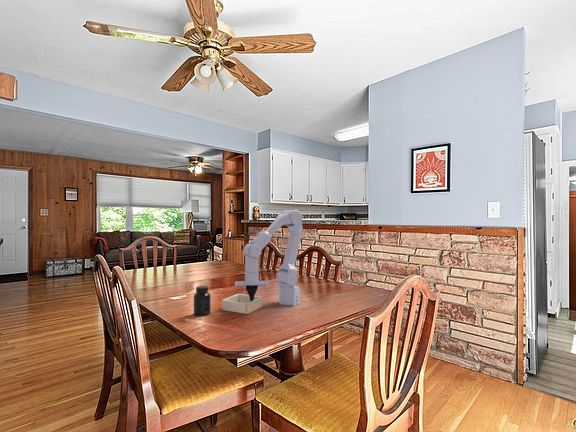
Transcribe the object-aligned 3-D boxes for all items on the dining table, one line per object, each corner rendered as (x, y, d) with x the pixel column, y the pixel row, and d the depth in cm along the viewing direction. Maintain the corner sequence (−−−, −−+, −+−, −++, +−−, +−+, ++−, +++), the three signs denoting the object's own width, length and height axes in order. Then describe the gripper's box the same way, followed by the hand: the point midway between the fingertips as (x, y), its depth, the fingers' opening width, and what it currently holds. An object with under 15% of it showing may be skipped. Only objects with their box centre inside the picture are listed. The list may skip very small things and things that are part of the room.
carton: (260, 307, 140) (260, 296, 140) (245, 315, 129) (245, 303, 129) (238, 304, 145) (238, 293, 145) (222, 311, 135) (222, 299, 135)
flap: (262, 306, 139) (262, 297, 139) (247, 313, 129) (247, 303, 129) (261, 306, 140) (261, 296, 140) (246, 313, 129) (246, 303, 129)
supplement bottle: (190, 315, 129) (190, 286, 129) (205, 312, 134) (205, 284, 134) (198, 319, 124) (198, 289, 124) (213, 315, 129) (213, 286, 129)
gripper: (268, 269, 139) (268, 299, 140) (235, 270, 138) (235, 300, 138) (268, 272, 132) (268, 304, 133) (234, 273, 131) (234, 305, 131)
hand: (251, 302), depth 135 cm, fingers closed, pressing on flap
